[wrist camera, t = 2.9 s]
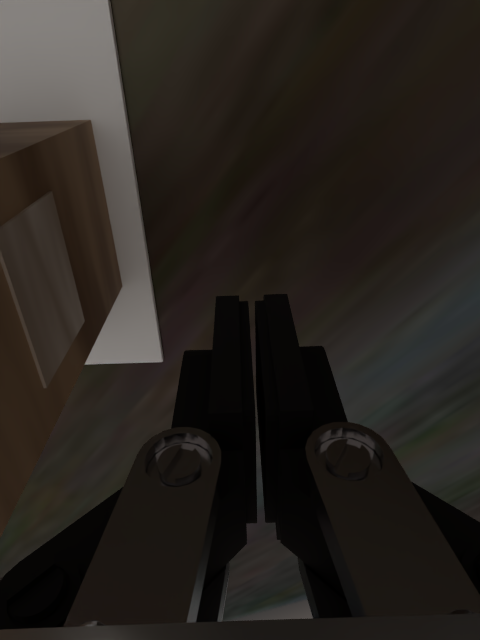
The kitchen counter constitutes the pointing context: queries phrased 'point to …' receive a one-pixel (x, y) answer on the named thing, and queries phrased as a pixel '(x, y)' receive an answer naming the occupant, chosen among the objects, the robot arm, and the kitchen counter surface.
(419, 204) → the kitchen counter surface
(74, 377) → the walnut block
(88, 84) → the grey mat
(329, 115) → the kitchen counter surface
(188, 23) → the kitchen counter surface
